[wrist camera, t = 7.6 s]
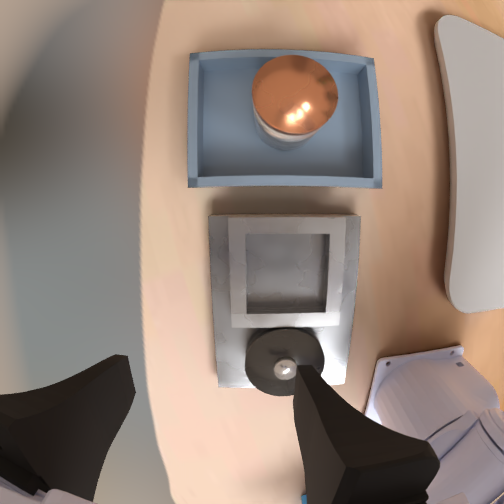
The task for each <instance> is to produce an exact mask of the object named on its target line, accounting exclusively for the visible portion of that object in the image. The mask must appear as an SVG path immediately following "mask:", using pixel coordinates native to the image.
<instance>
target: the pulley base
mask: <svg viewBox="0 0 504 504" xmlns="http://www.w3.org/2000/svg"><path fill="white" fill-rule="evenodd" d="M360 222H361V216H358V215H347V214H228V215H210V216H209V245H210V268H211V288H212V306H213V321H214V336H215V350H216V362H217V375H218V386H219V387H229V388H257V389H259V390H260V391H262V392H264V393H267V394H270V395H274V396H290V395H294V389H295V379H296V368H297V365H312V366H313V367H314V368H315V369H316V370H317V372H318V373H319V374H320V375H321V376H322V377H323V379H324V380H325V381H326V382H327V383H328V384H329V385H335V384H344V381H345V375H346V369H347V362H348V356H349V349H350V342H351V334H352V326H353V318H354V309H355V299H356V288H357V276H358V262H359V246H360Z"/></svg>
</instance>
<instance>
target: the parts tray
mask: <svg viewBox="0 0 504 504" xmlns="http://www.w3.org/2000/svg"><path fill="white" fill-rule="evenodd" d="M284 55H300V56H304V57H308V58H310V59H313V60H315V61H316V62H318V63H320V64H321V65H322V66H324V67H325V68H326V69H327V70H328V71H329V73H330V74H331V75H332V77H333V79H334V81H335V83H336V86H337V89H338V103H337V107H336V110H335V112H334V114H333V115H332V116H331V118H330V119H329V120H328V121H327V122H326V123H325V124H324V125H323V126H322V127H321V128H320V129H319V130H318V131H317V132H316V133H315V134H314V136H313V137H312V138H311V139H310V140H309V141H308V142H307V143H306V144H304V145H303V146H302V147H300V148H298V149H295V150H290V151H281V150H277V149H274V148H272V147H270V146H268V145H267V144H265V143H264V142H263V141H262V140H261V138H260V137H259V136H258V134H257V131H256V128H255V121H254V110H253V99H252V84H253V80H254V77H255V75H256V74H257V72H258V71H259V69H260V68H261V67H262V66H263V65H264V64H265V63H267V62H268V61H270V60H272V59H274V58H276V57H280V56H284ZM232 186H321V187H352V188H381V189H382V149H381V128H380V113H379V101H378V91H377V82H376V73H375V65H374V58H368V57H362V56H355V55H348V54H339V53H330V52H319V51H306V50H283V49H247V50H225V51H211V52H200V53H191V54H190V62H189V86H188V188H201V187H232Z"/></svg>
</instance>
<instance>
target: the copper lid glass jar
mask: <svg viewBox="0 0 504 504" xmlns="http://www.w3.org/2000/svg"><path fill="white" fill-rule="evenodd" d="M252 99H253V110H254V121H255V128H256V131H257V134H258V136H259V137H260V138H261V140H262V141H263V142H264V143H265V144H267V145H268V146H270V147H272V148H274V149H277V150H281V151H290V150H295V149H298V148H300V147H302V146H303V145H304V144H306V143H307V142H308V141H309V140H310V139H311V138H312V137H313V136H314V134H315V133H316V132H317V131H318V130H319V129H320V128H321V127H322V126H323V125H324V124H325V123H326V122H327V121H328V120H329V119H330V118H331V116H332V115H333V114H334V112H335V110H336V107H337V103H338V89H337V86H336V83H335V81H334V79H333V77H332V75H331V74H330V73H329V71H328V70H327V69H326V68H325V67H324V66H322V65H321V64H320V63H318V62H316V61H315V60H313V59H310V58H308V57H304V56H300V55H284V56H280V57H276V58H274V59H272V60H270V61H268V62H267V63H265V64H264V65H263V66H262V67H261V68H260V69H259V71H258V72H257V74H256V75H255V77H254V80H253V84H252Z"/></svg>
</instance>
